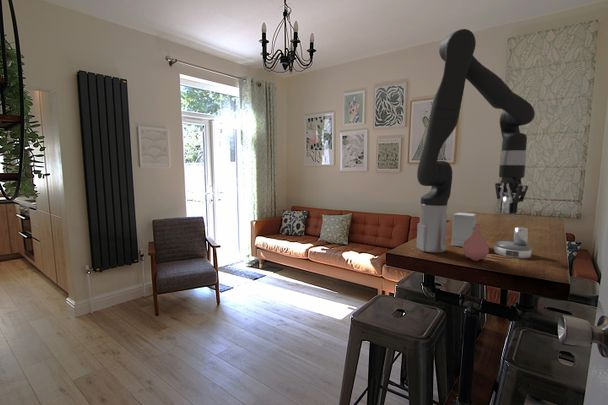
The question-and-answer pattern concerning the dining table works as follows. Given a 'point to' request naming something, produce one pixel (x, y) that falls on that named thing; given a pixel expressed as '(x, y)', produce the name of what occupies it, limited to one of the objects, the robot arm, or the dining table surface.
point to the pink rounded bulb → (475, 245)
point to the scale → (512, 249)
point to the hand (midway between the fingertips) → (508, 212)
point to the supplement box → (462, 228)
